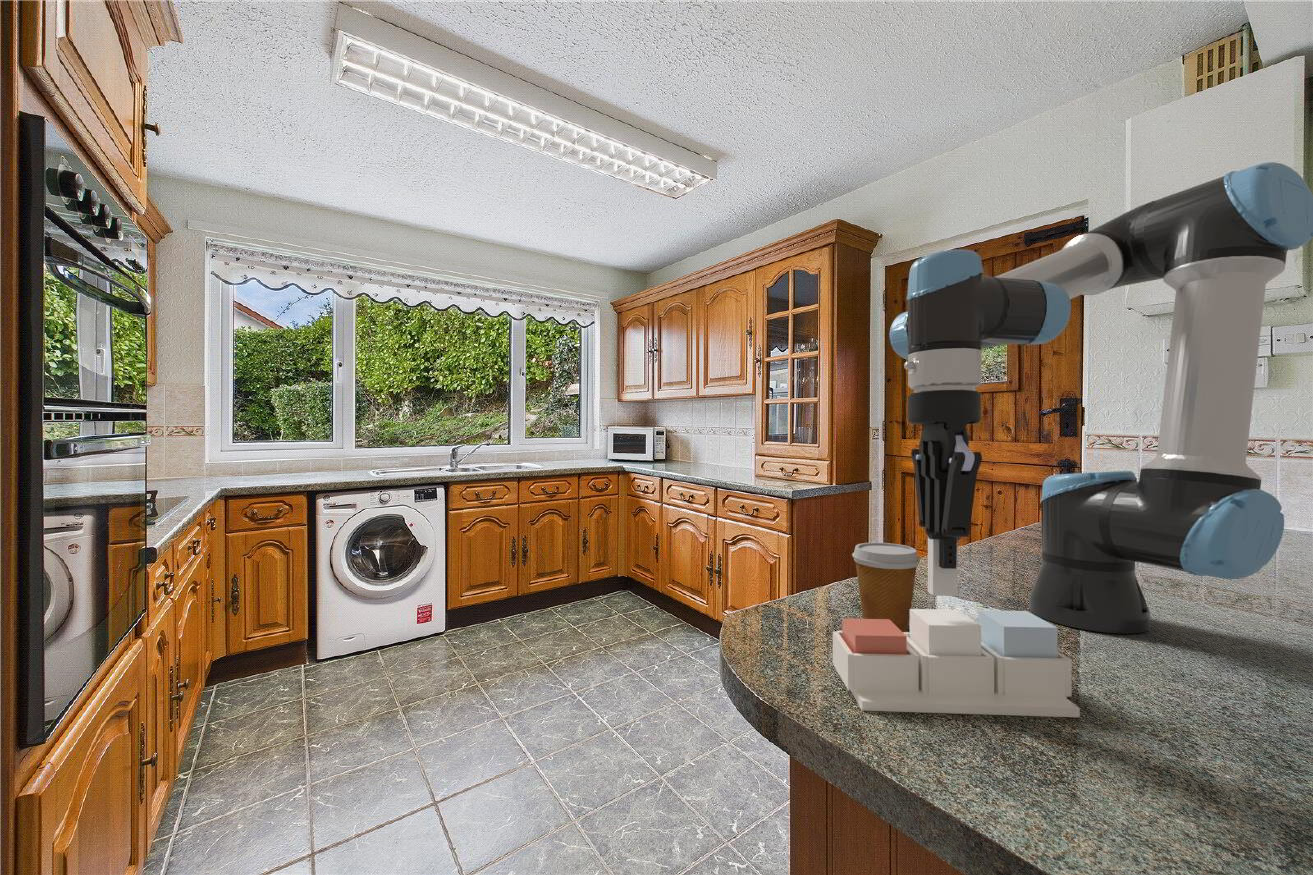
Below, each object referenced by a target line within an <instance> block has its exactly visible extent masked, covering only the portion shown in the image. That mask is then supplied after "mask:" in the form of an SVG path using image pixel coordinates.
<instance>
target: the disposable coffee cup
mask: <svg viewBox="0 0 1313 875" xmlns="http://www.w3.org/2000/svg"><path fill="white" fill-rule="evenodd" d="M851 556H852V557H853V561H855V568H856V574H857V583H858V590H859V598H860V606H861V613H862V619H890V620H891V621H892V622H893V623H894V624H895V625H896V626H897V627H898V628H899V629H900V630H901V631H902V632H909V631H908V630H909V628H910V609H912V602H913V596H914V589H915V588H914V587H915V581H916V575H917V574H916V571H917V567H918V565H919V563H920V561H921V558H920V557H919V556H918V552H917V549H915V547H914V548H913V547H912V546H908V545H905V544H900V543H899V544H897V543H889V542H864V543H858V544H856V545H855V547H854V552H852V554H851Z"/></svg>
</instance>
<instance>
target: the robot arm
mask: <svg viewBox="0 0 1313 875" xmlns="http://www.w3.org/2000/svg"><path fill="white" fill-rule="evenodd" d="M1312 238H1313V193H1312V191H1311V189H1310V187H1309V185H1308V184H1307V183H1306V181H1305V180H1304V178H1303V177H1302V176H1301V174H1299V173H1298V172H1297V171H1296V170H1294V169H1293V168H1292V167H1290V166H1288V165H1286V164H1285V163H1281V162H1280V163H1279V162H1274V161H1273V162H1270V161H1269V162H1262V163H1259V164H1256V165H1253V166H1249V167H1246V168H1244V169H1240V170H1235V171H1232V170H1231V171H1228V173H1226V174H1225V175H1224V176H1221V177H1218V178H1215V179H1212V180H1209V181H1206V182H1204V183H1201V184H1197V185H1195V186H1192V187H1189V188H1186V189H1183V190H1180V191H1179V192H1176V193H1173V194H1170V195H1168V196H1164V197H1162V198H1159V199H1156V200H1151V201H1149V202H1147V203H1144V204H1142V205H1138V206H1136V207H1135V208H1133V209H1130V210H1129V211H1126V212H1125V213H1122V214H1121V215H1119V216H1116V217H1115V218H1113V219H1110V220H1109V221H1107V222H1105V223H1103V224H1102V225H1099V226H1098V227H1095V228H1094V229H1091V230H1089V231H1087V232H1085V233H1082V234H1080V235H1078V236H1076V237H1074V238H1072V239H1071V240H1069V241H1068V242H1066V244H1065V245H1064V246H1063V247H1062V248H1061V249H1060V250H1058V251H1056V252H1053V253H1051V254H1049V255H1045V256H1043V257H1040V258H1039V259H1036V260H1033V261H1031V262H1028V263H1026V264H1023V265H1021V266H1019V267H1016V268H1014V269H1010V270H1009V271H1006V272H1004V273H1001V274H999V275H997V276H990V275H985V274H983V273H984V268H983V266H982V265H983V264H982V257H981V255H980V254H979V253H977V252H976V251H974V250H971V249H948V250H941V251H937V252H933V253H929V254H926V255H924V256H922V257H920V258H918V259H917V260H915V261H914V262H913V264H912V265H911V267H910V269H909V275H908V283H907V284H908V286H907V295H906V301H907V302H906V303H907V311H905V312H904V311H903V312H901V313H900V314H898V315H897V316H896V317H895V318H894V320H893V321H892V323H891V325H890V328H889V341H890V345H891V348H892V349H893V351H894V352H895V353H896V354H897V355H898V356H899V357H901V358H902V359H905V360H907V361H906V362H904V364H903V366H904V369H905V370H906V371H907V378H908V379H907V380H908V382H907V387H909V388H910V389H912V390H913V392H910V393H909V395H908V396H907V422H908V423H909V424H910V425H916V426H917V425H921V427H922V428H921V433H920V437H919V438H920V440H919V442H918V444H919V445H918V448H912V449H911V452H910V457H911V461H912V464H913V468H914V480H915V482H914V483H915V490H916V493H915V494H916V502H917V503H916V504H917V514H918V524H919V527H920V528H924V531H925V535H926V536H927V593H929V594H930V595H932V596H933V597H935V596H936V597H938V596H939V597H958V582H959V581H958V576H959V574H958V571H959V570H958V567H959V565H958V564H959V563H958V562H959V560H958V559H959V554H958V552H959V550H958V549H959V548H958V547H959V544H958V542H959V541H960V540H961V538H969V536H970V531H971V523H972V516H973V508H974V498H975V494H976V493H975V491H976V484H977V479H978V478H977V476H978V472H979V469H980V468H981V463H982V460H983V456H982V453H981V451H971V449H970V448H969V444H970V440H969V439H970V438H969V434H968V429H967V425H976V424H978V423H980V421H981V419H982V415H981V413H982V394H981V393H980V391H978V390H976V388H977V387H980V386H981V385H982V373H983V372H982V370H983V369H982V365H983V364H982V359H983V358H982V354H983V353H982V352H983V351H982V349H988V348H993V347H999V346H1004V345H1005V346H1006V345H1019V346H1022V347H1023V346H1024V347H1025V346H1028V345H1041V344H1043V345H1044V344H1046V343H1048V342H1052V341H1053V340H1054V339H1056V338H1057V337H1058V336H1059V335H1061V334H1062V333H1063V331H1064V330H1065V329H1066V327H1067V325H1068V323H1069V321H1070V318H1071V316H1072V315H1071V314H1072V312H1071V311H1072V303H1071V302H1072V301H1071V300H1072V299H1074V298H1077V297H1078V296H1080V295H1083V296H1094V295H1099V294H1101V293H1105V292H1107V291H1108V290H1113V289H1116V288H1120V287H1124V286H1129V285H1130V286H1131V285H1134V284H1140V283H1145V282H1152V281H1156V280H1161V279H1163V280H1162V281H1163V282H1164V284H1166V285H1167V286H1169V287H1171V288H1172V289H1173V290H1174V291H1175V295H1174V297H1175V298H1174V305H1173V314H1172V315H1173V316H1172V321H1171V322H1172V324H1171V331H1170V337H1169V338H1170V339H1169V347H1168V356H1167V357H1168V358H1167V364H1166V366H1167V367H1166V372H1165V381H1164V390H1163V399H1162V400H1163V401H1162V406H1161V414H1160V415H1161V416H1160V425H1159V432H1158V440H1157V449H1156V456H1155V457H1154V458H1153V459H1152V460H1149V462H1146V463H1145V464H1144V465H1141V467H1140V469H1139V478H1137V477H1136V474H1135V472H1134V471H1131V470H1119V471H1117V470H1116V471H1100V472H1099V471H1097V472H1079V473H1078V472H1077V473H1075V472H1074V473H1063V474H1061V473H1059V474H1052V475H1049V476H1048V477H1046V478H1045V479H1044V481H1043V482H1042V491H1041V498H1040V503H1041V504H1040V506H1041V509H1040V511H1041V565H1040V568H1039V570H1038V573H1037V575H1036V578H1035V580H1034V583H1033V585H1032V588H1031V591H1030V593H1029V596H1028V608H1029V612H1030V613H1032V614H1033V615H1035V616H1037V617H1039V618H1041V619H1043V620H1045V621H1046V620H1047V621H1049V622H1052V623H1056V624H1058V625H1063V626H1066V627H1069V628H1074V629H1075V628H1076V629H1079V630H1084V631H1085V630H1086V631H1091V632H1098V633H1107V634H1110V633H1111V634H1123V635H1124V634H1125V635H1126V634H1127V635H1128V634H1130V635H1132V634H1141V633H1145V632H1148V631H1150V630H1151V625H1152V624H1151V622H1152V620H1151V618H1152V617H1151V611H1150V609H1149V607H1148V605H1147V601H1146V599H1145V596H1144V593H1143V591H1142V588H1141V586H1140V584H1139V581H1138V578H1137V575H1136V563H1140V564H1146V565H1151V566H1155V567H1159V568H1165V569H1170V570H1174V571H1179V572H1184V573H1187V574H1189V575H1192V576H1199V577H1212V578H1216V579H1217V578H1219V579H1224V580H1239V579H1245V578H1248V577H1251V576H1253V575H1255V574H1256V573H1259V572H1260V571H1261V570H1262V569H1263V568H1264V567H1265V566H1267V565H1268V563H1269V562H1270V561H1271V560H1272V558H1273V557H1274V556H1275V554H1276V552H1277V550H1278V549H1279V546H1280V544H1281V542H1282V538H1283V534H1284V530H1285V515H1284V513H1282V512H1281V511H1282V509H1283V507H1282V505H1281V503H1280V501H1279V500H1278V499H1277V498H1276V497H1275V496H1274V495H1273V494H1271V493H1269V492H1266V491H1265V490H1263V489H1261V486H1262V485H1261V484H1262V477H1261V476H1260V475H1259V474H1257V473H1256V472H1255V471H1254V470H1253V469H1252V468H1250V467H1249V466H1248V464H1247V454H1248V445H1249V438H1250V428H1251V422H1252V421H1251V420H1252V411H1253V401H1254V396H1255V395H1254V394H1255V393H1254V392H1255V385H1256V378H1257V377H1256V376H1257V375H1256V374H1257V368H1258V367H1257V366H1258V358H1259V348H1260V340H1261V332H1262V331H1261V330H1262V322H1263V314H1264V313H1263V312H1264V306H1265V305H1264V304H1265V296H1266V286H1267V284H1268V283H1269V282H1270V281H1272V280H1273V279H1275V278H1276V277H1278V276H1280V275H1281V274H1282V273H1283V272H1284V271H1285V269H1286V262H1287V255H1288V251H1292V250H1297V249H1299V248H1301V247H1303V246H1305V245H1307V244H1308V243H1309V242H1310V241H1311V240H1312Z"/></svg>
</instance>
